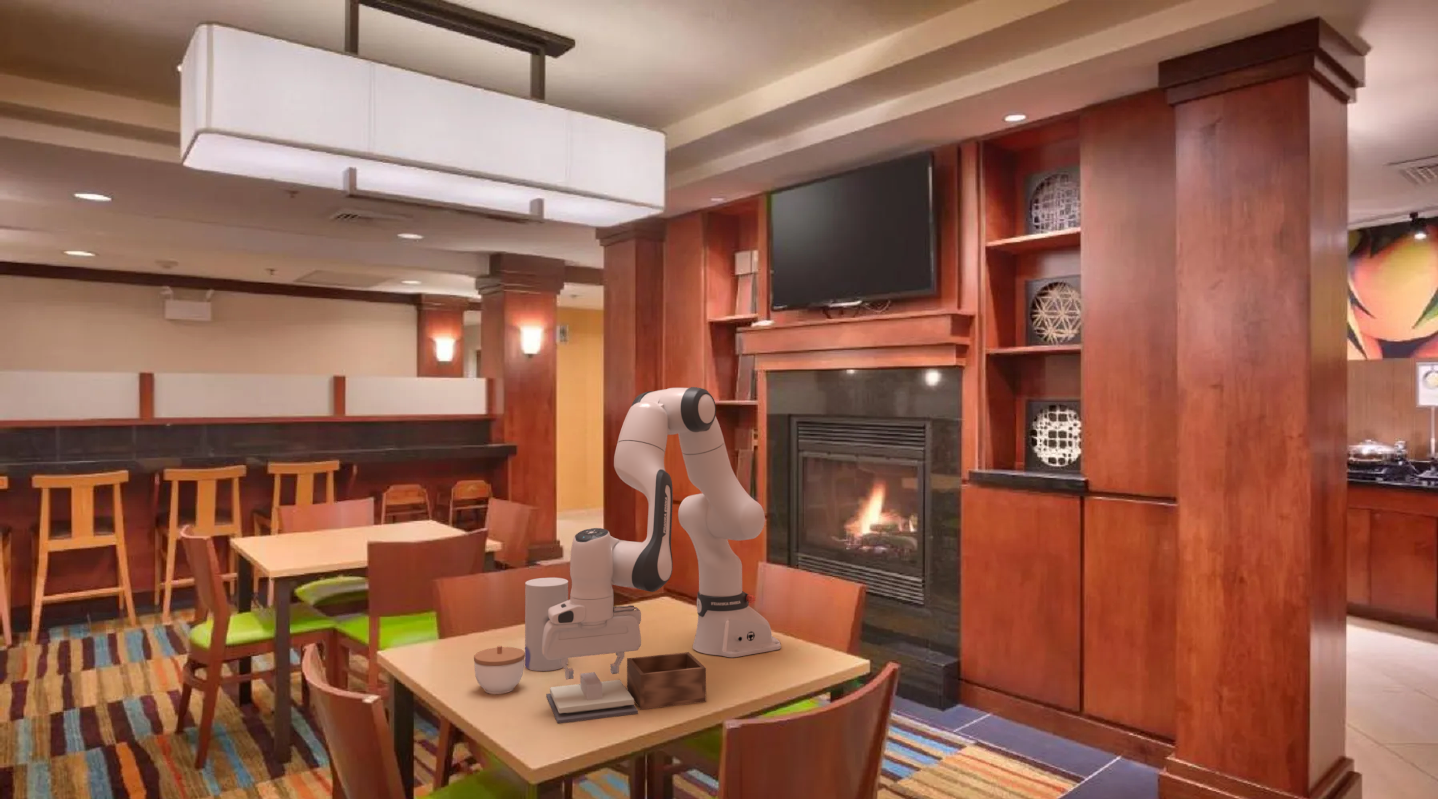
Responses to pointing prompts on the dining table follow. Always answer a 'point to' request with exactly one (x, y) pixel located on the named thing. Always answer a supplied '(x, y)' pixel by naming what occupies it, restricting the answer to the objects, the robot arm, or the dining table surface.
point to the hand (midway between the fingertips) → (592, 675)
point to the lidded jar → (499, 669)
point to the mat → (590, 712)
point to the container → (541, 619)
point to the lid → (590, 695)
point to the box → (666, 680)
